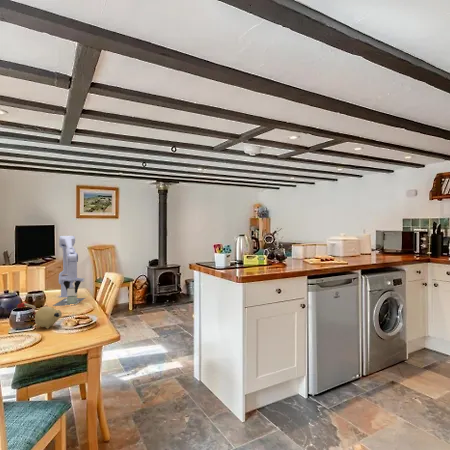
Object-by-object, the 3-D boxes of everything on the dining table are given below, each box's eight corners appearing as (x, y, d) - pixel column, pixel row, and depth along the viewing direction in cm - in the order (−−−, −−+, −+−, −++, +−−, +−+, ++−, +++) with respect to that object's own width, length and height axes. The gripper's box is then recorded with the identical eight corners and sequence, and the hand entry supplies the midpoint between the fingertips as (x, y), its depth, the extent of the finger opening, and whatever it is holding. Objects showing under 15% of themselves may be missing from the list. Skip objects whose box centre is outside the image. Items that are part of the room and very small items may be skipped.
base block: (69, 302, 208) (69, 295, 208) (76, 302, 209) (76, 295, 209) (67, 304, 204) (67, 297, 204) (74, 303, 204) (74, 297, 204)
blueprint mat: (64, 298, 219) (64, 298, 219) (85, 298, 220) (85, 297, 220) (52, 306, 199) (52, 305, 199) (75, 305, 201) (75, 305, 201)
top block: (69, 294, 208) (69, 287, 208) (76, 294, 208) (76, 287, 208) (67, 295, 203) (67, 288, 203) (74, 295, 204) (74, 288, 204)
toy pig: (58, 329, 156) (58, 308, 156) (31, 331, 153) (31, 309, 153) (63, 323, 165) (63, 303, 165) (38, 325, 162) (38, 304, 162)
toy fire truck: (40, 322, 167) (40, 304, 167) (17, 321, 168) (17, 303, 168) (45, 320, 170) (45, 302, 170) (21, 319, 172) (21, 302, 172)
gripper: (58, 273, 201) (57, 294, 201) (81, 272, 203) (81, 293, 203) (62, 271, 208) (62, 291, 208) (85, 271, 210) (85, 291, 210)
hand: (72, 292), depth 206 cm, fingers closed on top block, 4 cm apart
